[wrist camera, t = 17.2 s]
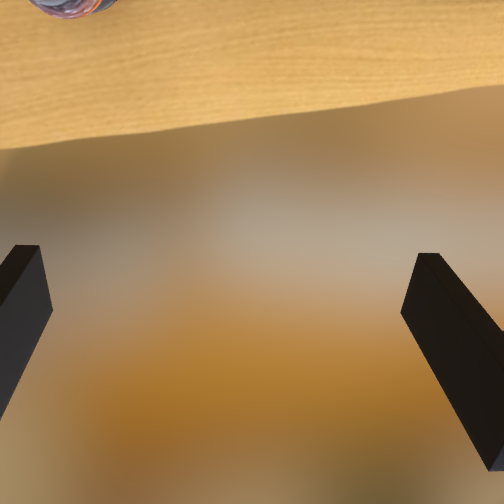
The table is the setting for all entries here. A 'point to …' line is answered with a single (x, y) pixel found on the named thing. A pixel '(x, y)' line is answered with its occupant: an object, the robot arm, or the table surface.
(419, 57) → the table surface
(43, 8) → the supplement bottle
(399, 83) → the table surface
